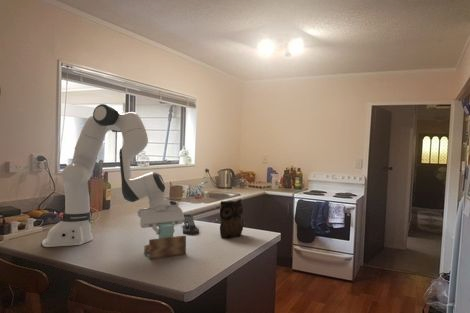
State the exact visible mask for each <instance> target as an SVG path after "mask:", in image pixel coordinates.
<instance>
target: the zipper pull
mask: <svg viewBox="0 0 470 313" xmlns="http://www.w3.org/2000/svg"><path fill="white" fill-rule="evenodd" d="M183 214H184V217H185V219H184V222H183V224H182V235H184V236H188V235H189V236H191V235H192V236H193V235H198V234H199V233H200V229H199V228H198V227H197V226H196V224H195V218H194V214H193V213H183Z"/></svg>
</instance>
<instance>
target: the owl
mask: <svg viewBox="0 0 470 313" xmlns="http://www.w3.org/2000/svg"><path fill="white" fill-rule="evenodd" d="M219 205H220V208H219V217H220V218H219V219H220V223H219V224H220V225H219V233H220V238H221V239H222V240H224V239H226V240H230V239H235V238H236V239H237V238H240V237H241V236H242V232H243V229H244V226H245V224H244V219H243V218H242V216H243V213H244V206H243V204H242V198H238V199H229V200H225V201H224V200H221V201H220V204H219Z"/></svg>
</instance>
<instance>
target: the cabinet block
mask: <svg viewBox="0 0 470 313" xmlns="http://www.w3.org/2000/svg"><path fill="white" fill-rule="evenodd" d="M158 229H160V234H158V239H160V238H168V237H174V233H173V225H172V224H170V223H167V224H159V226H158Z"/></svg>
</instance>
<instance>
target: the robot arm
mask: <svg viewBox="0 0 470 313" xmlns="http://www.w3.org/2000/svg"><path fill="white" fill-rule="evenodd" d="M145 127H146V126H145V124H144V123H143V121H142V119H141V117H140V116H139V114H138V113H137V112H133V111H130V112H126V111H124V110H122V109H120V108H117V107H115V106H112V105H111V104H107V103H103V104H102V103H101V104H99V105H97V106H96V107H95V108H94V110H93V113H92V115H91V116H89V117H88V119H87V120H86V121H85V123H84V125H83V127H82V129H81V131H80V134H79V136H78V139H77V141H76V145H75V147H74V152H73V155H72V156H73V157H72V160H71V163H69V164H67V165H66V166H65V167H64V168H63V170H62V172H61V179H62V186H63V191H64V198H65V201H64V202H65V203H64V204H65V205H64V207H65V210H64V211H65V212H60V213H59V217H60V221H59V222H58V223H56V224H55V225H54V226H52V227H51V228H50V229H49V230H48V233H47V237H46V238H45V239H43V240H42V244H41V245H42V247H45V248H52V247H53V248H55V247H66V246H67V247H68V246H70V247H71V246H81V245H83V244H85V243H88V242H91V241H93V239H94V237H93V234H92V229H91V221H92V220H91V219H92V215H91V214H92V213H91V211H90V207H91V206H90V205H91V204H90V203H91V201H90V199H91V198H90V192H89V183H88V182H89V180H90V179H91V177H92V175H93V173H94V169H95V166H96V163H97V159H98V156H99V153H100V150H101V148H102V144H103V143H104V140H105V137H106V135H107V133H108V132H110V131H111V132H113V133H121V135H122V139H123V141H122V142H123V143H122V144H123V145H122V147H121V148H120V149H119V156H118V157H119V168H120V169H119V170H120V177H121V195H122V197H123V199H124V200H126V201H127V202H131V203H134V202H137V201H139V200H141V199H143V198H146V199H147V200H148V207H147V208H140V209H138V210H137V211H136V213H137V216H138V218H139V226H140V228H142V229H145V228H152V230H153V231H154V232H155V233H156V235H158V236H159V234H160V229H159V228H158V227H159V224H167V223H170V224H172V225H173V234H174V233H175V226H176V225H183V224H184V219H185V217H184V214H185V213H184V212H183V210H182V208H181V207H180V206H179V205H180V204H179V202H178V201H175V200H169V199H167V197H166V191H165V190H166V186H165V182H164V180H163V177H162V175H161V174H159V173H158V172H155V171H153V172H152V171H151V172H148V173H145V174H143V175H141V176H138V177H135V178H132V172H131V163H132V160H134V158H136V156H138V155H139V154H141V152H143V151H144V150H145V148H147V146H148V143H149V137H148V133H147V130H146V128H145Z"/></svg>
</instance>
